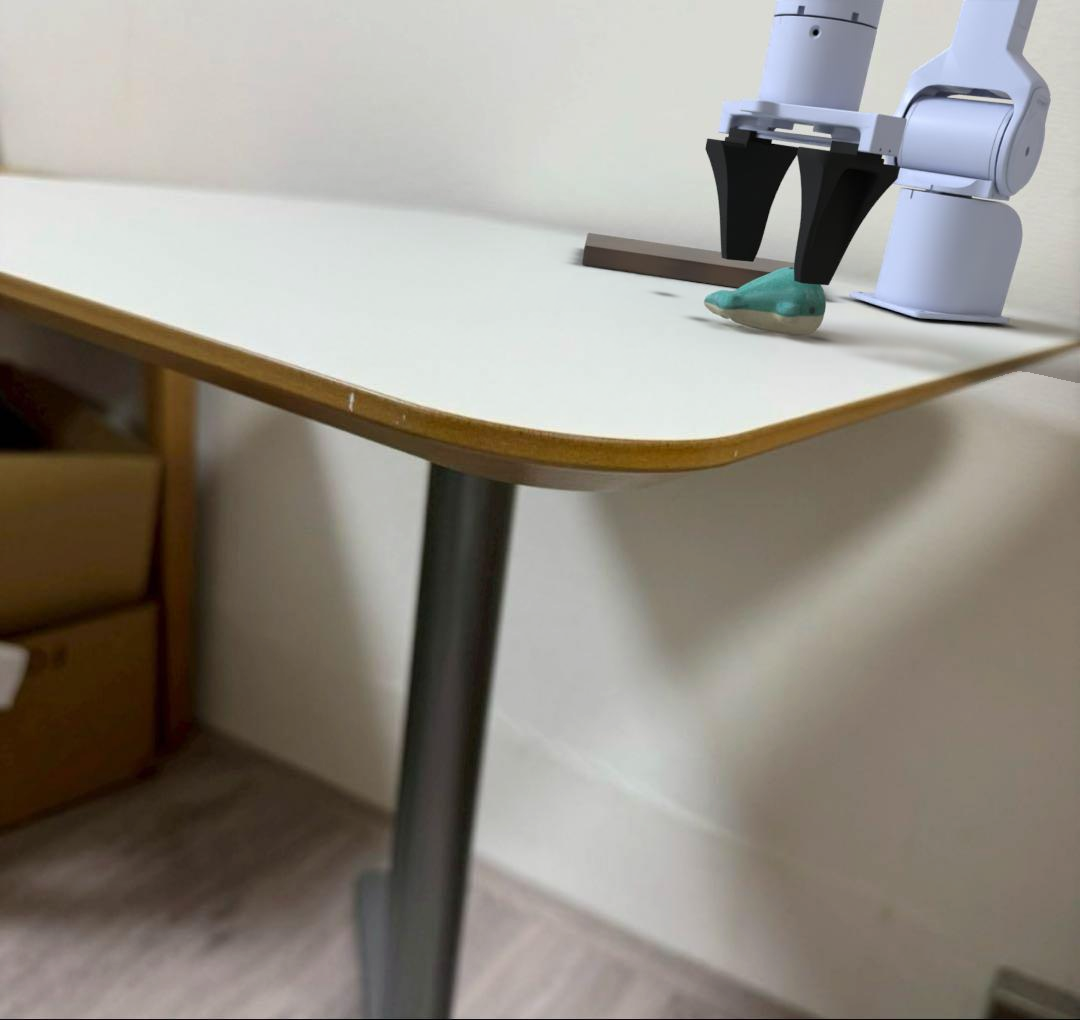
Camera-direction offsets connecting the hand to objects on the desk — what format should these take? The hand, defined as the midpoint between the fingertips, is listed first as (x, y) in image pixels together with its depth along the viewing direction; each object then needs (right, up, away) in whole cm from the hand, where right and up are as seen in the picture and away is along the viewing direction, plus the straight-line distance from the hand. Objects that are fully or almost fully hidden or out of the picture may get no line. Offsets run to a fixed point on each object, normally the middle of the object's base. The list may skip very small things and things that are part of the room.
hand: (772, 271), depth 63 cm
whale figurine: (0, -3, +1) cm, 4 cm away
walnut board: (-1, +5, +22) cm, 23 cm away
